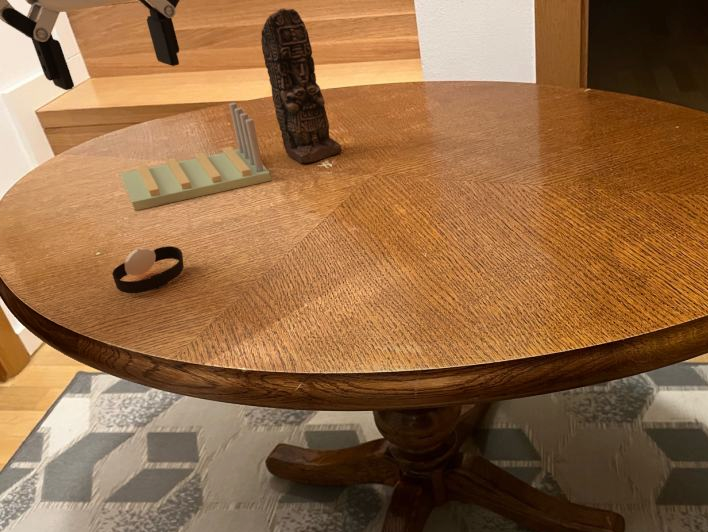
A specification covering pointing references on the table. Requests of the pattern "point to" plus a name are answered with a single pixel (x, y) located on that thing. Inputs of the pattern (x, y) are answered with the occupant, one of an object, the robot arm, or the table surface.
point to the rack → (200, 171)
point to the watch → (147, 269)
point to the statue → (296, 88)
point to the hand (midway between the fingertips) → (118, 74)
